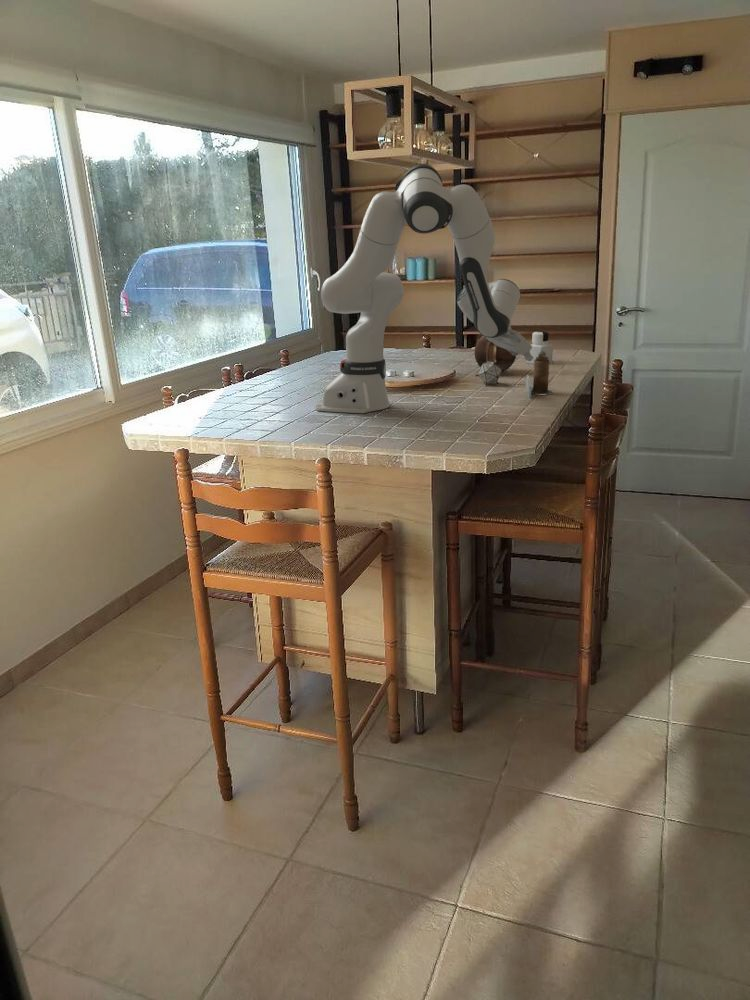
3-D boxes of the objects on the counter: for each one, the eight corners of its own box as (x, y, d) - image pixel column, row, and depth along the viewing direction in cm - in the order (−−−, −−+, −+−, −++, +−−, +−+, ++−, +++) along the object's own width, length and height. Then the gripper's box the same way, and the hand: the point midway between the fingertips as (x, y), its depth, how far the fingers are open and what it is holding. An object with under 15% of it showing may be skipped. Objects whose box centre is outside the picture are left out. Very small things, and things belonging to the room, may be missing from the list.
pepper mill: (533, 393, 240) (535, 352, 236) (532, 390, 244) (534, 350, 240) (548, 393, 239) (550, 352, 235) (547, 390, 244) (549, 350, 239)
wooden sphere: (488, 368, 286) (489, 327, 281) (523, 371, 277) (525, 330, 272) (466, 374, 276) (466, 332, 271) (501, 378, 266) (502, 335, 261)
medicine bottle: (537, 361, 297) (539, 330, 293) (552, 363, 292) (554, 331, 288) (525, 363, 293) (527, 332, 289) (540, 365, 288) (542, 333, 284)
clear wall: (528, 398, 234) (529, 386, 233) (526, 387, 251) (526, 375, 249) (530, 398, 234) (531, 386, 233) (528, 387, 251) (528, 375, 249)
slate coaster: (529, 395, 239) (529, 393, 239) (528, 390, 246) (528, 389, 246) (552, 395, 238) (552, 393, 238) (550, 390, 245) (550, 389, 245)
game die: (494, 395, 257) (506, 375, 250) (471, 387, 256) (482, 366, 249) (496, 378, 263) (508, 357, 255) (473, 370, 262) (484, 349, 254)
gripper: (519, 323, 222) (546, 354, 229) (489, 315, 241) (515, 344, 247) (504, 340, 223) (532, 370, 229) (475, 330, 241) (502, 358, 247)
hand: (523, 356), depth 238 cm, fingers open, 8 cm apart
